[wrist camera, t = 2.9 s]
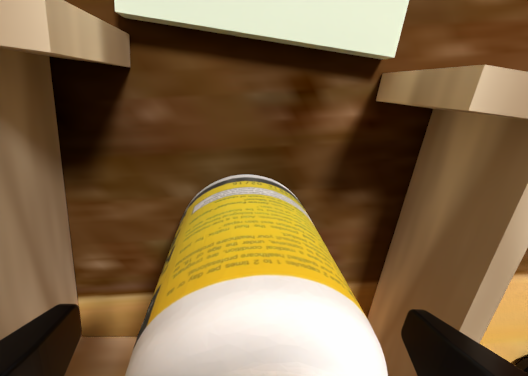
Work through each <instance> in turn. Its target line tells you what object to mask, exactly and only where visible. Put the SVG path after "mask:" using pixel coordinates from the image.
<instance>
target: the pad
mask: <svg viewBox="0 0 528 376" xmlns="http://www.w3.org/2000/svg"><path fill="white" fill-rule="evenodd" d="M114 2H115V12H116V13H118V14H119V15H121V16H122V17H124V18H128V19H134V20H141V21H147V22H153V23H159V24H165V25H171V26H178V27H184V28H190V29H196V30H202V31H209V32H215V33H221V34H227V35H233V36H240V37H246V38H252V39H258V40H264V41H271V42H277V43H283V44H289V45H295V46H301V47H308V48H314V49H320V50H326V51H332V52H339V53H345V54H351V55H357V56H363V57H370V58H376V59H382V60H383V59H389V58H394V57H395V53H396V49H397V46H398V42H399V38H400V34H401V30H402V26H403V22H404V18H405V14H406V10H407V6H408V3H409V0H114Z"/></svg>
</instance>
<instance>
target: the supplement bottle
mask: <svg viewBox="0 0 528 376" xmlns="http://www.w3.org/2000/svg"><path fill="white" fill-rule="evenodd" d="M125 376H388V372H387V366H386V361H385V357H384V354H383V351H382V348H381V345H380V343H379V341H378V339H377V337H376V335H375V333H374V331H373V329H372V327H371V325H370V323H369V321H368V319H367V317H366V315H365V314H364V312H363V310H362V308H361V307H360V305H359V303H358V301H357V300H356V298H355V296H354V295H353V293H352V291H351V289H350V288H349V286H348V284H347V283H346V281H345V279H344V277H343V275H342V274H341V272H340V270H339V268H338V267H337V265H336V263H335V262H334V260H333V258H332V256H331V255H330V253H329V251H328V249H327V247H326V245H325V244H324V242H323V240H322V239H321V237H320V235H319V233H318V232H317V230H316V228H315V226H314V224H313V223H312V221H311V219H310V218H309V216H308V214H307V212H306V211H305V209H304V207H303V206H302V204H301V203H300V201H299V200H298V199H297V198H296V196H295V195H294V194H293V193H292V192H291V191H290V190H289V189H287V188H286V187H285V186H283V185H282V184H280V183H279V182H276V181H274V180H272V179H269V178H266V177H263V176H258V175H248V174H246V175H235V176H230V177H226V178H223V179H221V180H218V181H216V182H214V183H212V184H210V185H208V186H207V187H205V188H204V189H203V190H201V191H200V192H199V193H198V194H197V195H196V196H195V197H194V198H193V199H192V201H191V202H190V204H189V205H188V207H187V208H186V210H185V212H184V214H183V216H182V219H181V221H180V224H179V227H178V229H177V232H176V235H175V238H174V240H173V242H172V245H171V248H170V251H169V254H168V256H167V259H166V261H165V264H164V267H163V270H162V273H161V276H160V278H159V281H158V283H157V286H156V289H155V292H154V295H153V297H152V300H151V303H150V305H149V308H148V310H147V313H146V316H145V319H144V321H143V324H142V326H141V329H140V331H139V334H138V336H137V339H136V343H135V345H134V348H133V351H132V355H131V358H130V362H129V365H128V368H127V371H126V374H125Z"/></svg>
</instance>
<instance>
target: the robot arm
mask: <svg viewBox="0 0 528 376" xmlns="http://www.w3.org/2000/svg"><path fill="white" fill-rule="evenodd" d="M81 331H82V328H81V319H80V311H79V307H78V305H77V304H58V305H56V306H54V307H52V308H51V309H49V310H48V311H46V312H44V313H43V314H41V315H40V316H38V317H36V318H35V319H33V320H32V321H30V322H28V323H27V324H25V325H24V326H22V327H20V328H19V329H17V330H16V331H14V332H12V333H11V334H9V335H8V336H6V337H4V338H3V339H1V340H0V376H65V373H66V371H67V369H68V366H69V364H70V361H71V359H72V357H73V354H74V352H75V349H76V347H77V345H78V342H79V340H80V337H81ZM401 337H402V340H403V343H404V345H405V348H406V350H407V352H408V355H409V357H410V359H411V362H412V364H413V367H414V369H415V371H416V374H417V376H528V358H526V359H524V360H522V361H520V362H519V363H518V364H517V365H516V366H515V365H513V364H511V363H510V362H508V361H507V360H505V359H503V358H502V357H500V356H498V355H497V354H495V353H494V352H492V351H490V350H489V349H487V348H486V347H484V346H482V345H481V344H479V343H478V342H476V341H474V340H473V339H471V338H469V337H468V336H466V335H465V334H463V333H461V332H460V331H458V330H457V329H455V328H453V327H452V326H450V325H449V324H447V323H445V322H444V321H442V320H440V319H439V318H437V317H436V316H434V315H432V314H431V313H429V312H428V311H426V310H423V309H411V310H409V311H408V313H407V315H406V318H405V321H404V324H403V326H402V329H401Z"/></svg>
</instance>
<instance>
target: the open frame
mask: <svg viewBox="0 0 528 376" xmlns="http://www.w3.org/2000/svg"><path fill="white" fill-rule="evenodd" d="M49 56H51V57H58V58H65V59H73V60H80V61H87V62H95V63H102V64H109V65H117V66H124V67H130V39H129V34H128V33H126V32H124V31H122V30H120V29H118V28H116V27H114V26H112V25H110V24H108V23H106V22H104V21H102V20H100V19H98V18H96V17H94V16H93V15H91V14H89V13H87V12H85V11H83V10H81V9H79V8H77V7H75V6H73V5H71V4H69V3H67V2H65V1H63V0H0V340H1V339H3V338H4V337H6V336H8V335H9V334H11V333H12V332H14V331H16V330H17V329H19V328H20V327H22V326H24V325H25V324H27V323H28V322H30V321H32V320H33V319H35V318H36V317H38V316H40V315H41V314H43V313H44V312H46V311H48V310H49V309H51V308H52V307H54V306H56V305H58V304H77V305H78V299H77V290H76V282H75V273H74V265H73V256H72V248H71V239H70V231H69V222H68V213H67V205H66V196H65V188H64V179H63V171H62V162H61V153H60V145H59V136H58V128H57V119H56V111H55V102H54V94H53V85H52V76H51V68H50V59H49ZM376 101H380V102H387V103H395V104H402V105H409V106H416V107H424V108H431V109H433V111H432V114H431V118H430V121H429V124H428V127H427V130H426V134H425V137H424V140H423V143H422V146H421V149H420V153H419V156H418V159H417V162H416V165H415V168H414V172H413V175H412V178H411V181H410V184H409V187H408V191H407V194H406V197H405V200H404V203H403V206H402V210H401V213H400V216H399V219H398V222H397V225H396V229H395V232H394V235H393V238H392V241H391V244H390V248H389V251H388V254H387V257H386V260H385V263H384V267H383V270H382V273H381V276H380V279H379V283H378V286H377V289H376V292H375V295H374V298H373V302H372V305H371V308H370V311H369V314H368V317H367V319H368V321H369V323H370V325H371V327H372V329H373V331H374V333H375V335H376V337H377V339H378V341H379V343H380V345H381V348H382V351H383V354H384V357H385V361H386V366H387V372H388V376H417V374H416V371H415V369H414V367H413V364H412V362H411V359H410V357H409V355H408V352H407V350H406V348H405V345H404V343H403V340H402V337H401V329H402V326H403V324H404V321H405V318H406V315H407V313H408V311H409V310H411V309H423V310H426V311H428V312H429V313H431V314H432V315H434V316H436V317H437V318H439V319H440V320H442V321H444V322H445V323H447V324H449V325H450V326H452V327H453V328H455V329H457V330H458V331H460V332H461V333H463V334H465V335H466V336H468V337H469V338H471V339H473V340H474V341H476V342H478V343H480V341H481V339H482V337H483V335H484V333H485V331H486V329H487V327H488V325H489V323H490V321H491V319H492V317H493V315H494V313H495V311H496V309H497V307H498V305H499V303H500V301H501V299H502V297H503V295H504V293H505V291H506V289H507V287H508V285H509V283H510V281H511V279H512V277H513V275H514V273H515V271H516V269H517V267H518V265H519V263H520V261H521V259H522V257H523V255H524V253H525V252H526V250H527V248H528V72H525V71H519V70H513V69H507V68H501V67H495V66H489V65H476V66H464V67H452V68H440V69H428V70H416V71H404V72H392V73H382V78H381V82H380V86H379V90H378V94H377V98H376ZM136 339H137V337H82V333H81V337H80V340H79V342H78V345H77V347H76V349H75V352H74V354H73V357H72V359H71V361H70V364H69V366H68V369H67V371H66V373H65V376H125V374H126V371H127V368H128V365H129V362H130V358H131V355H132V351H133V348H134V345H135V343H136Z"/></svg>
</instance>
